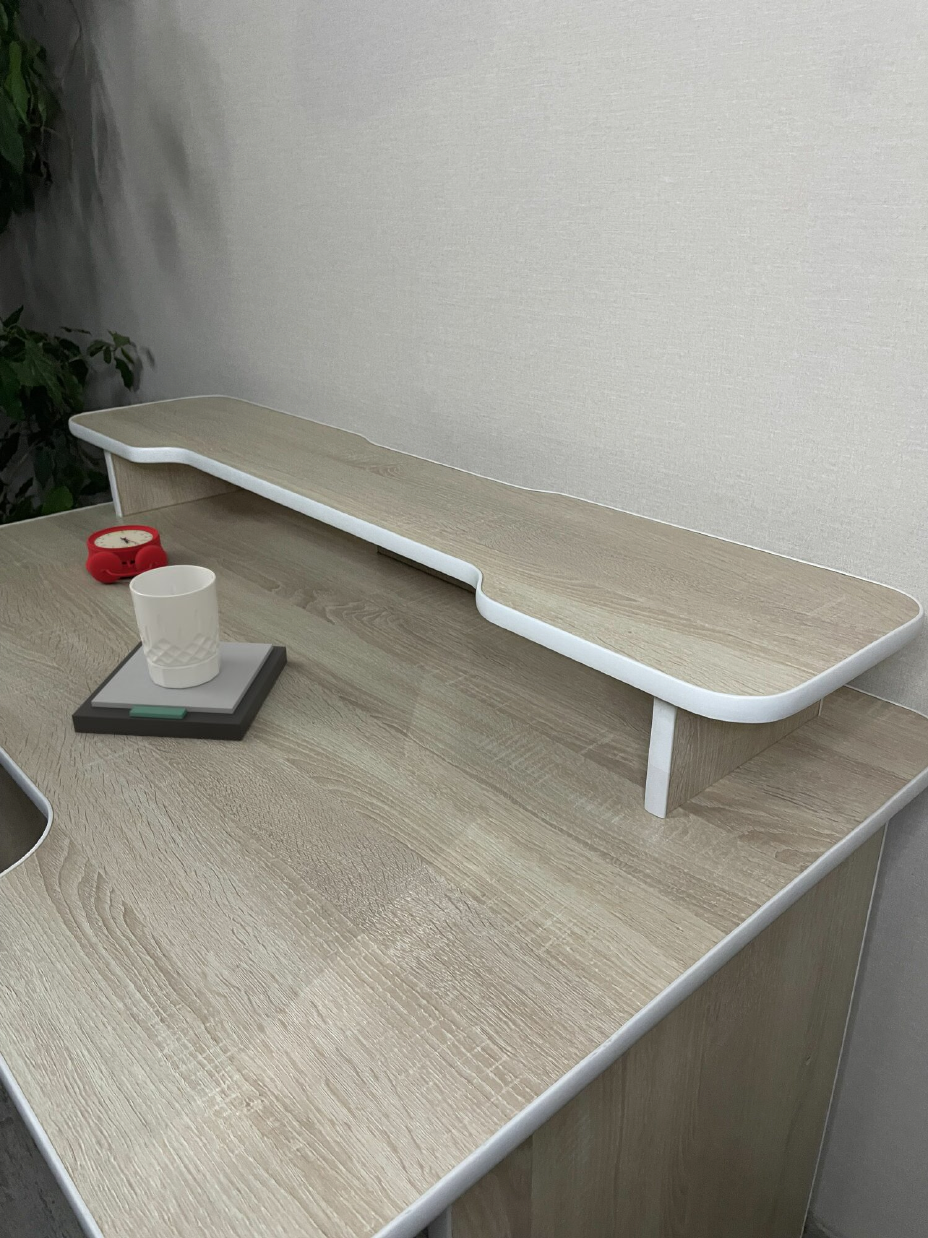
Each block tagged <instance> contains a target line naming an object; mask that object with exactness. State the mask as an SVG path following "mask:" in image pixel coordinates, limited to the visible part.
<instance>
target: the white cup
mask: <svg viewBox="0 0 928 1238" xmlns="http://www.w3.org/2000/svg"><path fill="white" fill-rule="evenodd" d="M129 590H130V591H129V592H130V596H131V600H132V605H133V610H134V614H135V619H136V624H137V628H138V633H139V636H140V641H141V640H142V646H143V650H144V653H145V656H146V659H147V664H148V669H149V674H150V677H151V679H152V680H153V682H154V683H155V684H157V685H160V686H163V687H165V688H187V687H193V686H198V685H200V684H203V683H206V682H208V681H210V680H212V679H213V678H214V677H215V676H217V675H218V674H219V670H220V667H221V664H220V651H219V646H220V642H221V639H220V618H219V604H218V590H217V577H216V574H215V572H214V571H212V570H211V569H209V568H206V567H203V566H199V565H191V564H178V565H175V564H174V565H167V566H166V567H161V568H156V569H152V570H149V571H146V572H144V573H142V574H140V575H136V576H134V577H133V578H132V579H131V580H130V582H129Z"/></svg>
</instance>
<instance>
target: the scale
mask: <svg viewBox="0 0 928 1238" xmlns="http://www.w3.org/2000/svg"><path fill="white" fill-rule="evenodd" d="M219 651H220V664H221V667H220V670H219V674H218V675H217V676H215V677H214V678H213V679H212V680H210V681H208V682H206V683H203V684H200V685H198V686H193V687H187V688H165V687H163V686H160V685H157V684H155V683H154V682H153V680H152V679H151V677H150V674H149V669H148V664H147V659H146V656H145V653H144V650H143V646H142V640H141V639H140V641H139V642H138V643H137V644H136V645H135V646H134V647H133V648H132V650H130V652H128V654H127V655H126V656H125V657H124V659H122V660H121V661H120V663H119V664H118V665H117V666H116V667H115V668H114V669H113V670H112V671H111V673H109V674H108V676H107V677H106V678H104V680H103V681H102V682H101V683H100V684H99V686H97V688H96V689H95V690H94V691H92V693H91V694H90V695H89V696H88V697H87V698H86V699H85V700H84V702H83V703H82V704H81V705H80V706H79V707H78V708H77V709H76V710H75V711H74V712H73V714H71V720H72V725H73V729H74V732H75V733H87V734H88V733H90V734H107V735H108V734H109V735H110V734H111V735H124V736H125V735H126V736H128V735H129V736H146V737H165V738H182V739H183V738H184V739H200V740H201V739H202V740H203V739H204V740H223V741H238V742H239V741H243V739H244V737H245V735H246V733H247V732H248V730H249V728H250V727H251V725H252V723H253V722H254V720H255V718H256V716H257V714H258V712H259V711H260V709H261V707H262V706H263V704H264V702H265V700H266V699H267V697H268V695H269V694H270V692H271V690H272V688H273V687H274V685H275V684H276V682H275V681H277V680H278V678H279V676H280V675H281V673H282V671H283V669H284V668H285V666H286V664H287V662H288V654H287V646H283V645H274V644H273V643H263V642H262V643H261V642H236V641H220V646H219Z"/></svg>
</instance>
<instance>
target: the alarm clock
mask: <svg viewBox="0 0 928 1238" xmlns="http://www.w3.org/2000/svg"><path fill="white" fill-rule="evenodd" d="M86 547H87V551H88V556H87V559H86V562H85V569H86V571H87V572H88V573H89V574H90V575H91V577H92V578H93V579H94V580H95V581H97V582H99V583H103V584H113V583H115V582H117V581H119V580H120V579H121V578H127V577H136V576H138V575H140V574H142V573H144V572H146V571H149V570H152V569H156V568H161V567H166V566H168V561H169V560H168V559H169V557H168V554H167V552H166V551H165V550H164V547H163V546H162V542H161V535H160V533H159V530H157V529H156V528H154V527H153V526H149V525H141V524H127V525H125V524H124V525H117V526H111V527H107V528H103V529H100V530H97V531H96V532H92V534H90V535H89V536H88V538H87V540H86Z"/></svg>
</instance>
